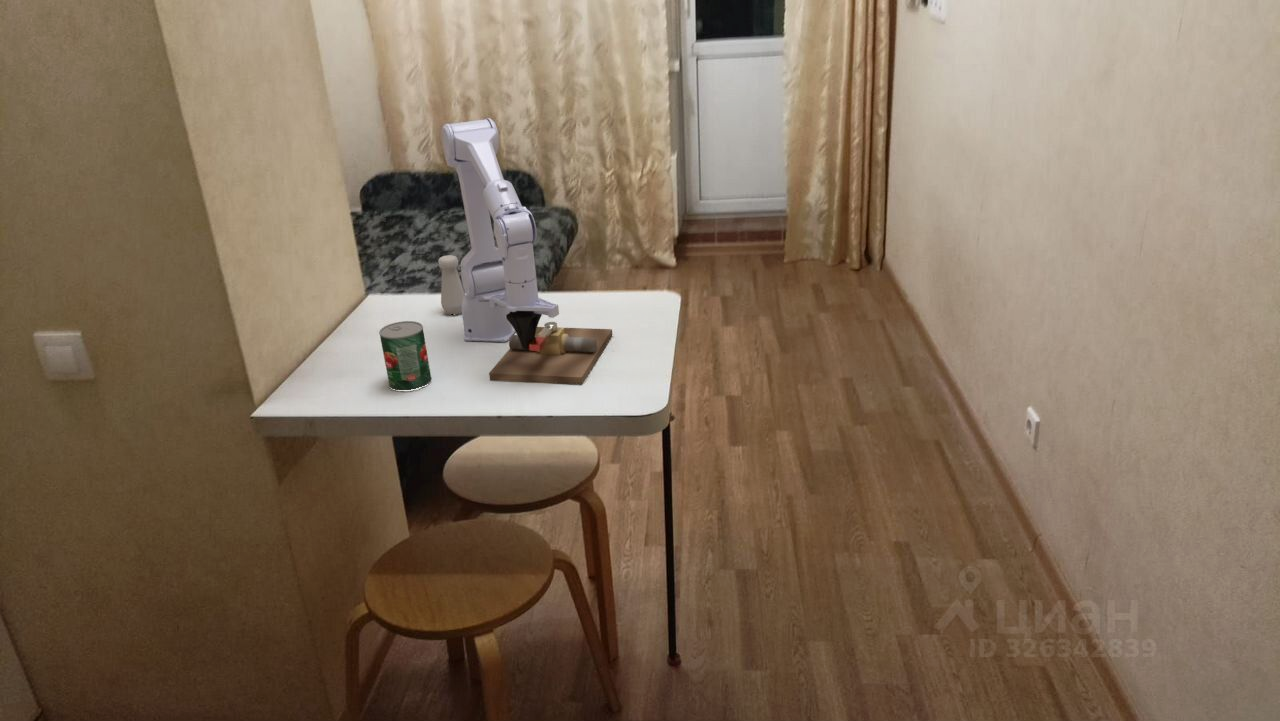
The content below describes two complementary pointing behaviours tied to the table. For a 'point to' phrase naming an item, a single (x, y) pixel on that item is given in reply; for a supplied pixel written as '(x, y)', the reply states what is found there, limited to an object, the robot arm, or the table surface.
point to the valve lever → (543, 336)
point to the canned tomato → (405, 355)
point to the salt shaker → (451, 285)
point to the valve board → (553, 357)
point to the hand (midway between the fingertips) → (528, 346)
